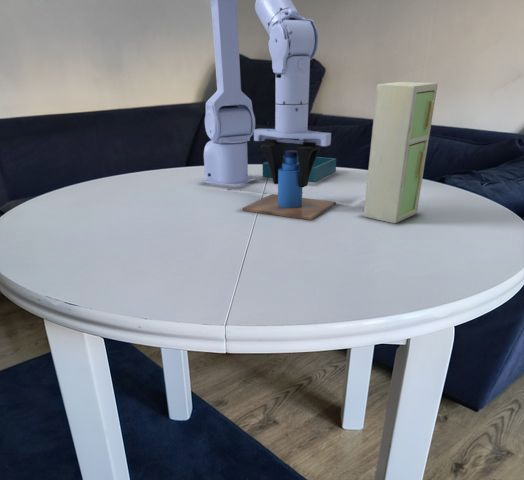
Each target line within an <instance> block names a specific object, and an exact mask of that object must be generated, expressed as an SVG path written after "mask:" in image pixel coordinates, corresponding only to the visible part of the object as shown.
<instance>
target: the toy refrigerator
mask: <svg viewBox="0 0 524 480" xmlns="http://www.w3.org/2000/svg"><path fill="white" fill-rule="evenodd" d="M437 91H438V83H437V82H419V81H417V82H416V81H395V82H386V83H378V84H377V86H376V91H375V101H374V109H373V110H374V111H373V121H372V130H371V139H370V140H371V141H370V150H369V151H370V152H369V160H368V168H367V169H368V171H367V180H366V189H365V198H364V208H363V216H364V217H365V218H368V219H374V220H377V221H382V222H387V223H390V224H398V223H399V222H402V221H404V220H406V219H408V218H411V217H413V216H414V215H416V214H417V213H418V208H419V203H420V195H421V189H422V183H423V179H424V178H423V177H424V170H425V164H426V159H427V152H428V147H429V140H430V134H431V128H432V122H433V117H434V111H435V110H434V109H435V102H436V96H437Z"/></svg>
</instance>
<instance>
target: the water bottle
mask: <svg viewBox="0 0 524 480" xmlns="http://www.w3.org/2000/svg"><path fill="white" fill-rule="evenodd" d="M283 156H284V157H285V163H282V168H279V169H278V184H277V195H278V206H280V207H284V208H296V207H300V206H302V198H303V189H304V187H299V163H297V156H298V153H297V150H296V149H295V150H294V149H292V150H291V149H289V150H284V155H283Z"/></svg>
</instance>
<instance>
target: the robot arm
mask: <svg viewBox="0 0 524 480" xmlns="http://www.w3.org/2000/svg"><path fill="white" fill-rule="evenodd" d="M237 7H238V6H237V0H210V11H211V25H212V26H211V27H212V37H213V38H212V40H213V48H214V49H213V52H214V65H215V80H216V91H215V92H214V93H213V94H212V95H211V97H209V98H208V100H207V101H206V102H205V116H204V128H205V133H206V135H207V137H208V138H209V139H210V140H209V141H207V142H206V143H205V146H204V150H203V165H204V166H203V167H204V180H203V183H210V184H217V185H227V186H233V187H239V186H242V185H244V184H247V183H249V182H252V181H254V180H256V178H253V177H249V163H248V162H249V160H248V157H249V156H248V142H250V141H251V137H252V136H253V141H254V142H263V144H261V145H260V147H261V149H260V150H261V151H262V153H263V155H264V157H265V159H266V162H268V164H269V167H270V170H271V174H272V178H271V179H272V183H273V185H278V169H279V168H282V163H283V156H284V151H285V147H286V144H296V145H297V144H299V145H300V146H297V147H296V151H297V153H298V159H299V187H303V188H305V187H307V186H308V184H309V182H308V180H309V176H310V172H311V169H312V167H313V164H314V162H315V159H316V157H318V155H319V153H320V152H321V151H322V147H328V146H331V142H332V133H331V132H322V131H316V130H315V131H314V130H309V129H308V124H309V103H310V101H309V100H310V75H311V74H310V71H311V67H310V66H311V60H313V58H315V56H316V53H317V50H318V46H319V32H318V29H317V26H316V23H315V21H314V20H313V19H312V18H305V16H301V15H300V13H299V11H298V9H297V7H296V6H295V5H294V2H293V1H292V0H255V5H254V9H255V13H256V15H257V17H258V18H259V20H260V22H261V25H262V26H263V28H264V29H265V31H266V33H267V35H268V36H269V40H268V51H269V54H270V57H271V69H272V72H273V73H274V74H275V92H274V93H275V95H274V96H275V97H274V98H275V100H274V101H275V108H274V109H275V113H274V114H275V115H274V117H275V119H274V120H275V121H274V122H275V123H274V125H275V126H274V128H256V116H255V114H254V110H253V109H254V108H253V102H252V99H250V97H248V95H246V94H245V93H244V92H243V91H242V82H241V81H242V79H241V65H240V64H241V62H240V46H239V45H240V44H239V28H238V26H239V24H238V8H237ZM226 106H227V107H226ZM228 106H237V107H228Z"/></svg>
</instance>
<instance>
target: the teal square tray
mask: <svg viewBox="0 0 524 480" xmlns="http://www.w3.org/2000/svg"><path fill="white" fill-rule="evenodd" d="M283 163H285V157H284V155H283ZM297 163H299V159H298V156H297ZM336 172H337V158H335V157H321V156H317V157H316V159H315V162H314V164H313V167H312V169H311V172H310V176H309V180H308V183H317V182H319V181H321V180H322V179H324V178H326V177H328V176H330V175H333V174H334V173H336ZM262 178H267V179H268V178H269V179H273V178H272V174H271V170H270V167H269V164H268V161H266V162H263V163H262Z"/></svg>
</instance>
